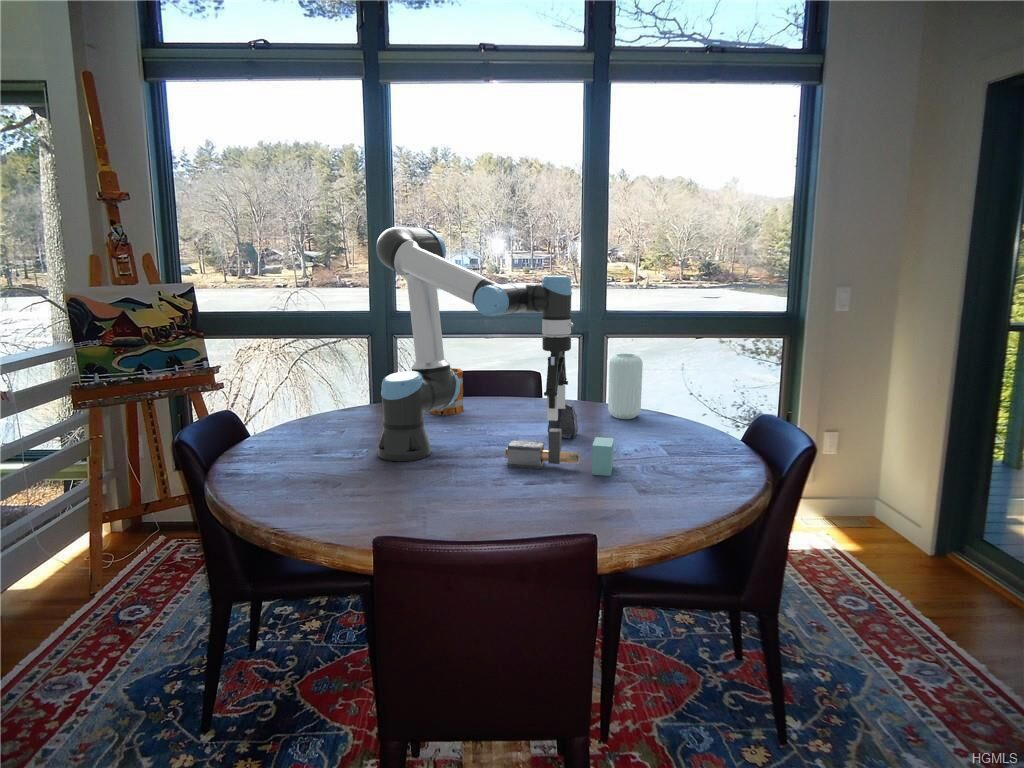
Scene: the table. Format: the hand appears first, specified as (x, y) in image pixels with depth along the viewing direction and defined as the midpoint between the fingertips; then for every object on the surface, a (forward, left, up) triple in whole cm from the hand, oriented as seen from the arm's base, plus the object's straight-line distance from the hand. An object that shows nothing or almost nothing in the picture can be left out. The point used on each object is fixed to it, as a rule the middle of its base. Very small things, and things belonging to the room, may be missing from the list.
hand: (556, 414), depth 175 cm
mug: (-49, +52, -15) cm, 73 cm away
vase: (+15, +61, -15) cm, 65 cm away
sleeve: (-8, 0, -15) cm, 17 cm away
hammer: (-4, 0, -13) cm, 14 cm away
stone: (-2, +33, -15) cm, 36 cm away
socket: (+13, 0, -15) cm, 20 cm away
